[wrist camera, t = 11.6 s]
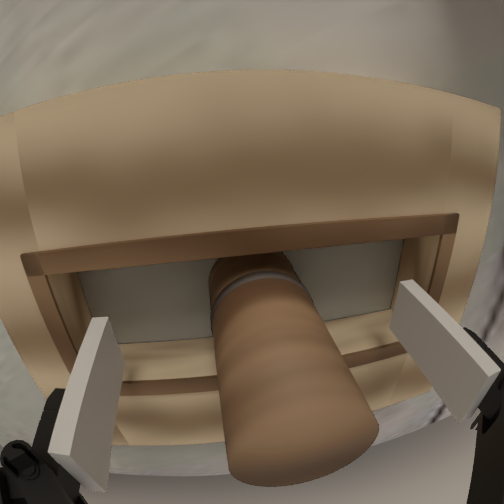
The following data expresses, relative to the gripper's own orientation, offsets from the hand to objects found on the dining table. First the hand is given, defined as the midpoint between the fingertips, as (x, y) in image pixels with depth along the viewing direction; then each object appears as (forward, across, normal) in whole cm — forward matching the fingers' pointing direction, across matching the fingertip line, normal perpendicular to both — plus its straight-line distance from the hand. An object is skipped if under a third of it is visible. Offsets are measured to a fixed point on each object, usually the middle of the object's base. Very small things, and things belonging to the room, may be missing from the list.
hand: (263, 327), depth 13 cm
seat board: (+4, 0, 0) cm, 4 cm away
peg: (+4, 0, 0) cm, 4 cm away
